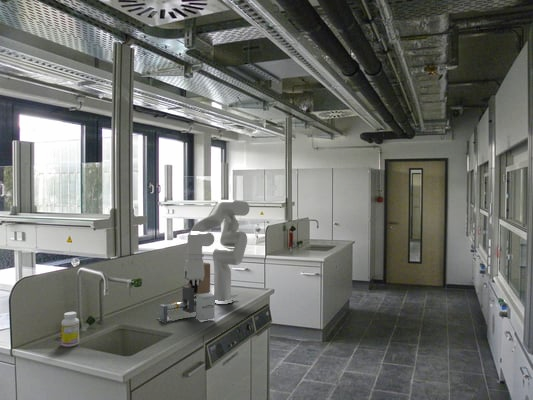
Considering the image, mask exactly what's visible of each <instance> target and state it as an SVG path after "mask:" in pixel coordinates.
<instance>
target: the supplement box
mask: <svg viewBox="0 0 533 400" xmlns="http://www.w3.org/2000/svg"><path fill="white" fill-rule="evenodd" d="M195 299H196V317H197V318H198V319H199V320H208V319H213V318H216V317H215V315H216V307H215V305H216V304H215V295H214V293H211V292H210V293H203V294H196V297H195ZM196 317H195V318H196Z"/></svg>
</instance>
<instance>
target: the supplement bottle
mask: <svg viewBox="0 0 533 400" xmlns="http://www.w3.org/2000/svg"><path fill="white" fill-rule="evenodd" d="M77 316H78V315H77V311H68V312H65V313H64V314H63V317H64V319H62V320H61V325H60V326H61V346H62V347H65V348H66V347H70V348H71V347H74V346H77V345H78V344H79V343H80V320H79V318H78V317H77Z"/></svg>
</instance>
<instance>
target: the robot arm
mask: <svg viewBox="0 0 533 400" xmlns="http://www.w3.org/2000/svg"><path fill="white" fill-rule="evenodd" d="M249 212H250V204H249V203H248V202H247V201H243V200H235V199H220V200H218V201H216V203H215V205H214V207H212V209H211V211H210V212H209V214H208V215H207V216H206V217H204V218H202V219H200V220H199V221H198V222H196V223H195V224H194V225H193V226H192V228H191V229H190V231H189V232H188V235H187V247H186V248H187V251H186V252H187V256H186V257H187V258H186V259H185V262H184V267H183V268H184V269H183V279H184V283H187V284H188V283H190V285H191V287H192V288H194V293H197V291H198V285H199V283H200V281H203V280H204V263H205V262H204V259H203V258H204V257H205V254H204V253H203V247H210V246H212V245H213V244H214V242H215V235H214V234H213V233H212V232H208V231H209V230H213V229H216V228H218V227H220V226H221V225H222V223H223V222H224V226H223V229H222V232H221V236H220V238H219V243H220V245H222V246H221V247H220V246H219V247H216V248H215V249H214V250H213V251H212V261H213V267H214V270H213V271H214V273H213V274H214V277H213V278H214V279H213V280H214V281H213V282H214V285H213V287H214V289H213V295H215V300H218V301H225V300H229V299H231V298H232V299H234V298H237V297H238V296H239V295H238V293H234V294H233V293H232V270H231V268H230V266H229V265H232V266H238V265H240V264H241V263H242V261H243V258H244V255H245V252H246V248H247V243H248V236H247V233H246V232H244V231H242V230H239V228H240V227H239V226H240V224H239V221H238V219H237V218H236V217H237V216H241V217H242V216H243V217H244V216H245V217H246V216H247V215H248V214H249Z"/></svg>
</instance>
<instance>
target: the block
mask: <svg viewBox="0 0 533 400" xmlns="http://www.w3.org/2000/svg"><path fill="white" fill-rule="evenodd" d="M187 286H189V287H191V285H190V283H187ZM209 292H210V293H211V263H208V262H204V280H203V281H200V283H199V285H198V291H197V293H194V295H196V294H203V293H209Z"/></svg>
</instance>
